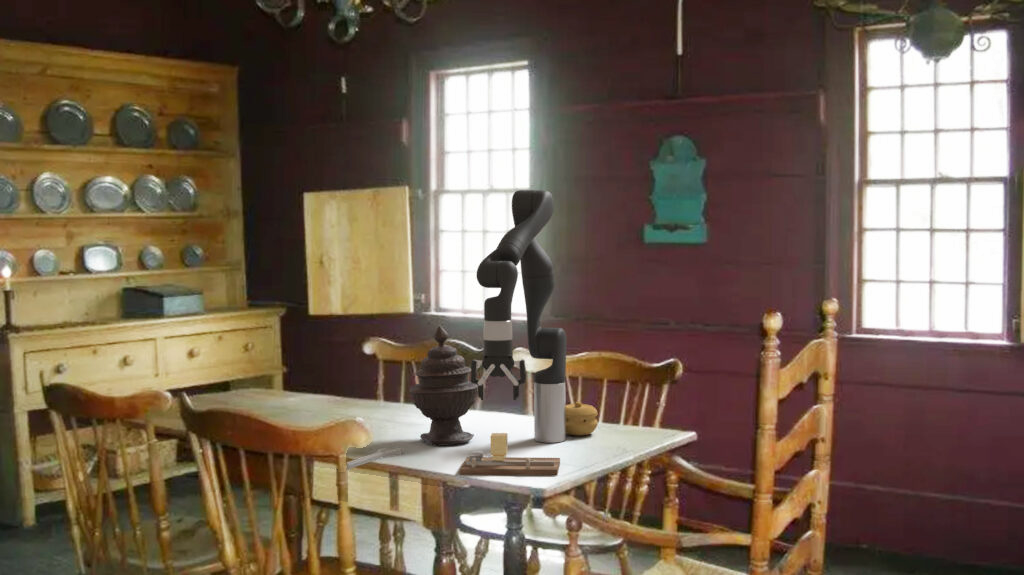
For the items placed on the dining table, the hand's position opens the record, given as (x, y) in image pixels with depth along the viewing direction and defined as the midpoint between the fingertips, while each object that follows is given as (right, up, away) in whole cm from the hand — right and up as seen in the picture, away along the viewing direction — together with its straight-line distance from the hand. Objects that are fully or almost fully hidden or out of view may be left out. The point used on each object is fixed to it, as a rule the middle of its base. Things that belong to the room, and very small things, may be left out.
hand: (498, 399), depth 288 cm
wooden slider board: (+3, -18, +1) cm, 18 cm away
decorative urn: (-16, -16, +38) cm, 44 cm away
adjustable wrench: (-36, -19, +14) cm, 43 cm away
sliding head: (0, -16, +1) cm, 16 cm away
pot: (+23, -15, +46) cm, 54 cm away
